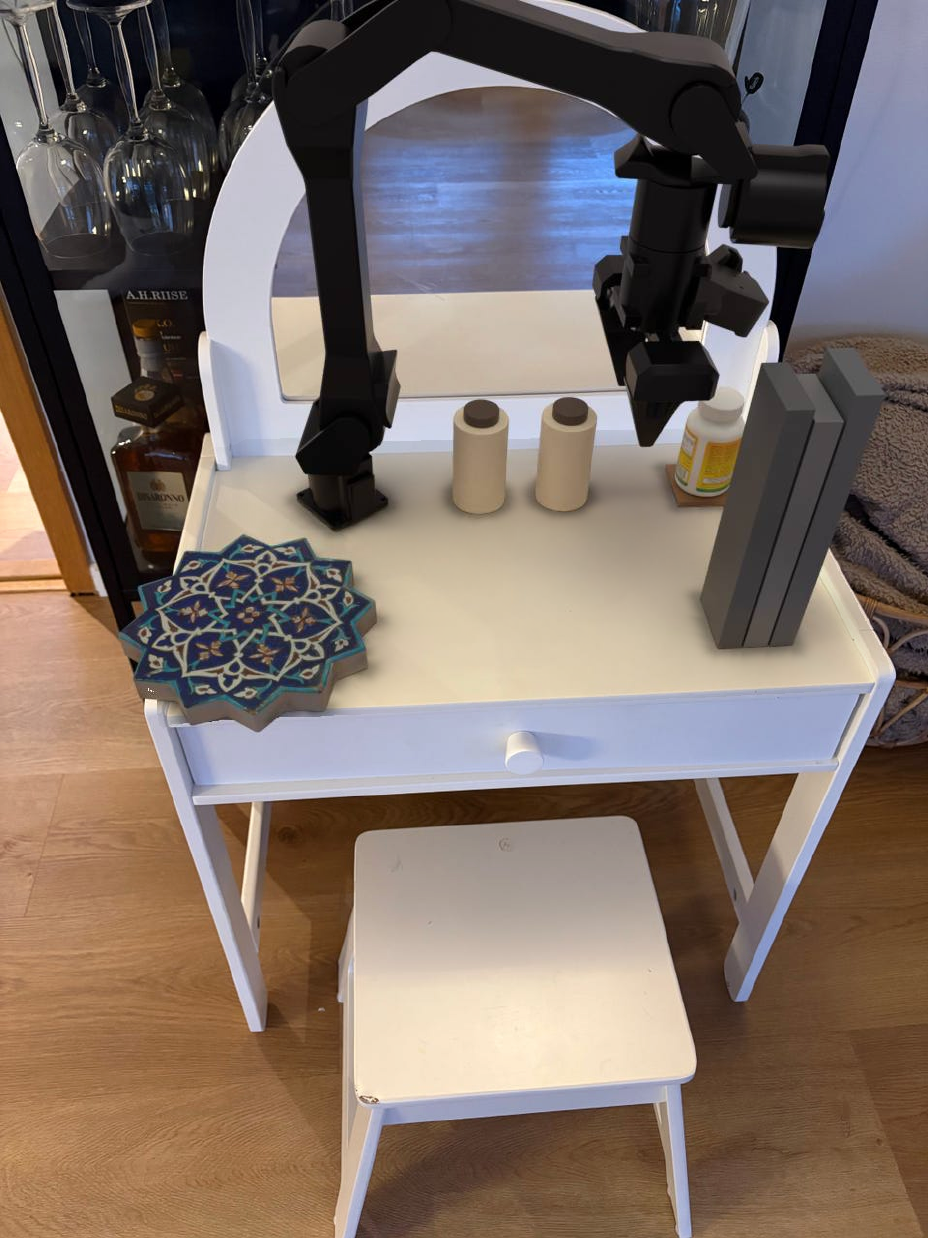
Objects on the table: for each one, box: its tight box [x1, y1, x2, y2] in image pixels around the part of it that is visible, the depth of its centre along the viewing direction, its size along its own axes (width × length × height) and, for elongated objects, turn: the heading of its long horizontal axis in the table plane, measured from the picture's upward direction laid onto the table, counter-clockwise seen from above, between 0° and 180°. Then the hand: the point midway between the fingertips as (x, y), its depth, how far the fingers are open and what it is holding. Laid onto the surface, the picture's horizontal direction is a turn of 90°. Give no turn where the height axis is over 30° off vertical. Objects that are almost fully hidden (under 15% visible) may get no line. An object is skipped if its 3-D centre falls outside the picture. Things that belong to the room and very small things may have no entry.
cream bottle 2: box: [534, 396, 598, 512], centre depth 91 cm, size 5×5×10 cm
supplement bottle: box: [675, 385, 746, 497], centre depth 92 cm, size 5×5×10 cm
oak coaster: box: [665, 463, 729, 508], centre depth 96 cm, size 6×6×1 cm
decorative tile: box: [117, 533, 378, 733], centre depth 80 cm, size 20×20×2 cm
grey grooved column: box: [699, 347, 886, 649], centre depth 75 cm, size 6×6×24 cm
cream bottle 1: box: [452, 398, 510, 515], centre depth 91 cm, size 5×5×10 cm
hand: (634, 414), depth 84 cm, fingers open, 9 cm apart
